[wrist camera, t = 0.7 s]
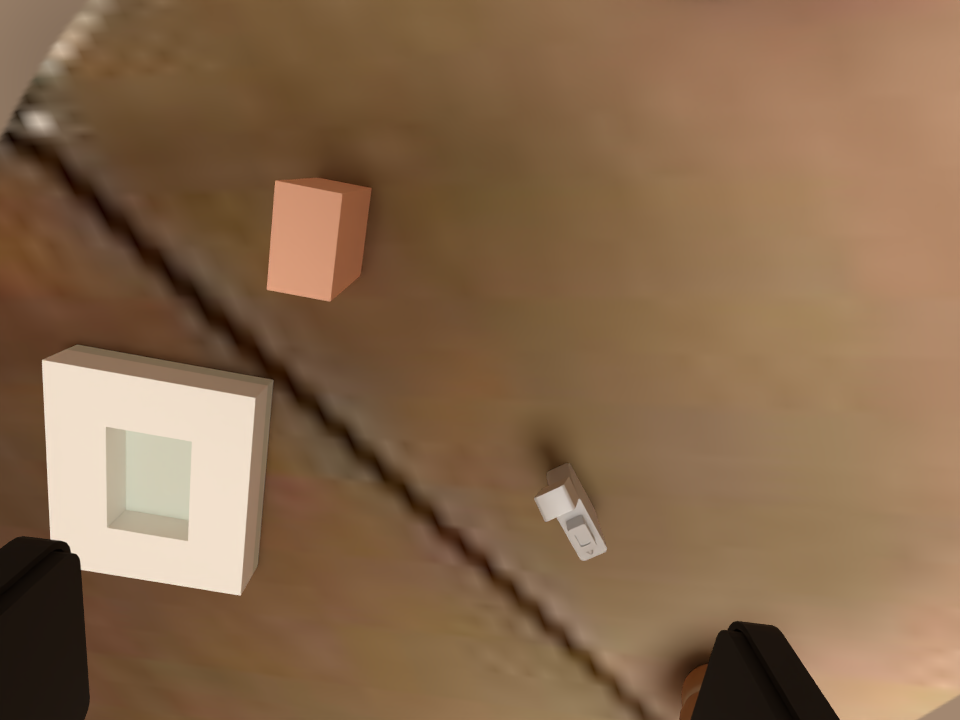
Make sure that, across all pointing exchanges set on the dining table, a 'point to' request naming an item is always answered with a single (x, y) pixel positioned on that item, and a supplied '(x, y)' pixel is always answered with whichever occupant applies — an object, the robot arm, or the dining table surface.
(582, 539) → the white plastic device
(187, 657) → the dining table surface
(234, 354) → the dining table surface
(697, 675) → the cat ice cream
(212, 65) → the dining table surface
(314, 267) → the block
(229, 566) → the holder
